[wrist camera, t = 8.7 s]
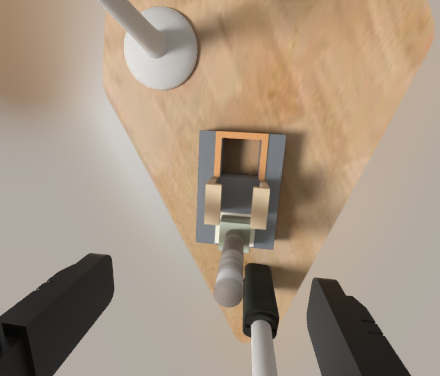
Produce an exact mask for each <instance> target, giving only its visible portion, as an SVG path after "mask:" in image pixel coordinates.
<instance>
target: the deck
mask: <svg viewBox="0 0 440 376" xmlns="http://www.w3.org/2000/svg"><path fill="white" fill-rule="evenodd" d="M224 138H237V139H254V140H260V149H259V160H258V171H257V176H256V175H242V174H228V173H222V167H223V149H224ZM285 142H286V135H280V134H261V133H243V132H225V131H206V130H200V136H199V166H198V195H197V224H196V242H200V243H210V244H219V230H220V225H209V224H204V213H205V189H206V183H207V182H208V181H209V180H210V179H211V177H212V176H215V177H218V184H222V196H221V214H220V220H221V217H222V215H232V216H244V217H251V209H252V197H253V186H255V187H259V182H260V180H266V181H267V184H268V186H269V188H270V195H269V205H268V214H267V224H266V230H263V229H252V228H251V232H250V243H249V247H250V248H260V249H270V250H273V246H274V238H275V229H276V220H277V212H278V203H279V194H280V185H281V177H282V168H283V159H284V151H285Z"/></svg>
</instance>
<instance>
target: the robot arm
mask: <svg viewBox="0 0 440 376" xmlns="http://www.w3.org/2000/svg"><path fill="white" fill-rule="evenodd" d="M113 280H114V279H113V267H112V258H111V256H110V255H104V254H95V253H89V254H88V255H86V256H85V257H84V258H82V259H81V260H80V261H79V262H77V263H76V264H74V265H71V266H69V267H67V268H65V269H63V270H61V271H59V272H58V273H56V274H55V275H54V276H53V277H51V278H50V279H49V280H48V281H47V282H46V283H44V284H42V285H41V286H39V287H38V288H37V289H36V291H33V292H32V293H30V294H29V295H28V296H26V297H25V298H24V299H23V300H21V301H20V302H18V303H17V304H16V305H15V306H13V307H12V308H10V309H9V310H8V311H6V312H5V313H4V314H3V315H1V316H0V376H53V375H54V374H55V372H56V371H57V370H58V368H59V367H60V366H61V365H62V363H63V362H64V361H65V360H66V358H67V357H68V356H69V354H70V353H71V352H72V350H73V349H74V348H75V347H76V346H77V344H78V343H79V342H80V340H81V339H82V338H83V337H84V335H85V334H86V333H87V332H88V330H89V329H90V328H91V326H92V325H93V324H94V323H95V321H96V320H97V319H98V318H99V316H100V315H101V314H102V312H103V311H104V310H105V309H106V307H107V306H108V305H109V303H110V302H111V299H112V297H113V293H114V281H113ZM307 327H308V331H309V335H310V338H311V341H312V345H313V348H314V351H315V354H316V358H317V361H318V365H319V368H320V371H321V375H322V376H411V375H410V374H409V372H408V370H407V369H406V368H405V366H404V365H403V363H402V361H401V360H400V359H399V357H398V355H397V354H396V353H395V351H394V349H393V348H392V346H391V345H390V343H389V342H388V340H387V339H386V337H385V336H383V333H382V332H381V330H380V328H379V327H378V325H377V324H375V321H374V319H373V318H372V316H371V315H370V313H369V311H368V310H367V308H366V307H364V306H363V305H362V304H361V303H360V302H359V301H358V300H356V299H355V298H354V297H353V296H346V295H345V293H344V291H343V290H342V288H341V286H340V285H339V283H338V282H337V280H332V279H323V278H314V279H313V281H312V285H311V291H310V297H309V303H308V309H307Z"/></svg>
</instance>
